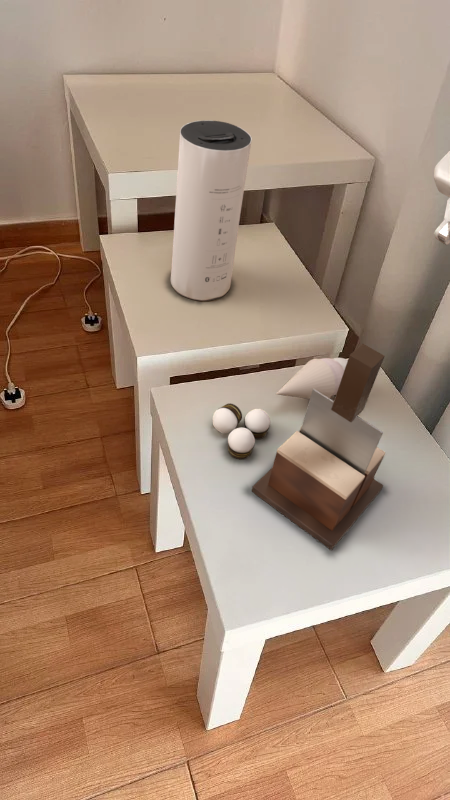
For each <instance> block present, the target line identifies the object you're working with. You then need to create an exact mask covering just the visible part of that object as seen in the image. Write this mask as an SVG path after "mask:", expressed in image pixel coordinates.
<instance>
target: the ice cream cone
mask: <svg viewBox="0 0 450 800" xmlns="http://www.w3.org/2000/svg"><path fill="white" fill-rule="evenodd" d="M347 362H348V359H346V358H343V357H334V358H329V357H322V358H313V359H310V360H308V362H306V363H305V364H304V365H303V366H302V368H300V369H299V370H298V371H297V372H296V373H295V374H294V375H293V376H292V377H291V378H290V379H289V380H288V381H287V382H285V384H284V385H283V386H282V387H280V388H279V390H278V391H277V392H276V393H275V395H278V396H284V397H285V396H286V397H292V398H300V399H307V400H310V397H311V394H312V390H313V389H315V390H317V391H319V392H320V393H322V394H323V395H325V396H327V397H328V398H330V399H331V398H332V397H333V396H336V394H337V391H338V388H339V385H340V382H341V379H342V376H343V373H344V370H345V367H346V364H347Z"/></svg>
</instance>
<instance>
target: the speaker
mask: <svg viewBox="0 0 450 800" xmlns="http://www.w3.org/2000/svg"><path fill="white" fill-rule="evenodd" d="M178 141H179V143H178V144H179V145H178V160H177V176H176V177H177V178H176V179H177V180H176V191H175V207H174V208H175V209H174V224H173V237H172V238H173V240H172V254H171V255H172V256H171V270H170V271H171V272H170V286H172V288H173V290H174V291H175V292H176V293H178V294H179V295H181V296H182V297H184V298H187V299H190V300H194V301H200V302H203V301H204V302H206V301H208V302H209V301H214V300H215V301H216V300H218V299H220V298H222V297H224V296H225V295H226V294H227V292H229V290H230V288H231V284H232V277H233V272H234V271H233V270H234V263H235V256H236V255H235V254H236V249H237V241H238V235H239V233H238V232H239V228H240V227H239V226H240V220H241V213H242V207H243V206H242V205H243V198H244V192H245V185H246V179H247V173H248V166H249V160H250V154H251V148H252V147H251V146H252V141H253V139H252V135H251V134H250V133H249V132H248V131H247V130H245V129H243V128H242V127H241V126H237V125H235V124H233V123H229V122H226V121H219V120H212V119H207V120H205V119H204V120H194V121H190V122H187V123H185V124H183V125H182V127H180V130H179V140H178Z"/></svg>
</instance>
